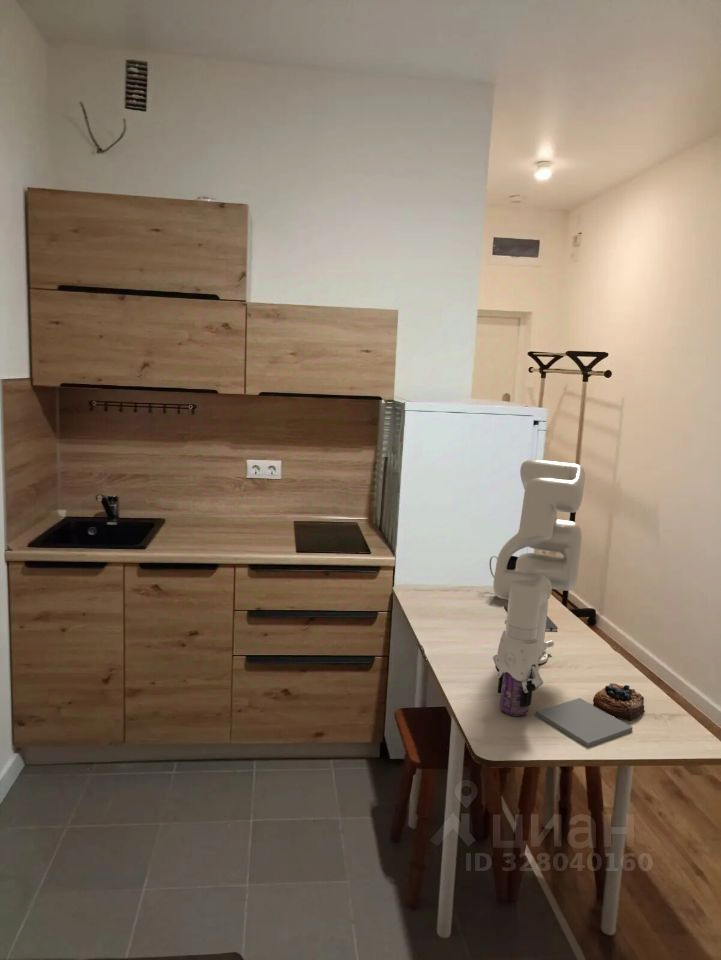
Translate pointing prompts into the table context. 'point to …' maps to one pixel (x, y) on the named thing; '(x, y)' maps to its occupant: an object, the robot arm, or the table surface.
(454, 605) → the table surface
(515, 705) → the beverage can
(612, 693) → the pastry
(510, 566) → the white and black pitcher
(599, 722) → the mat
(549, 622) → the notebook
